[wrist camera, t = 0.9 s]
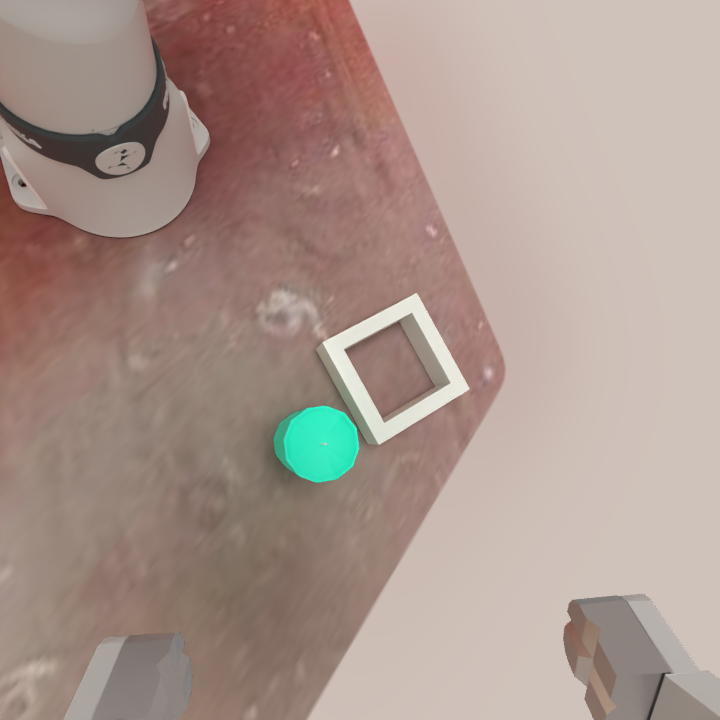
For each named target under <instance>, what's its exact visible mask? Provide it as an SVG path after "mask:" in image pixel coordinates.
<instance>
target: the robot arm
mask: <svg viewBox="0 0 720 720" xmlns="http://www.w3.org/2000/svg"><path fill="white" fill-rule="evenodd" d="M209 145H210V136H209V133H208V130H207V129H206V127H205V126H204V125H203V124H202V123H201V121H200V120H199V119H198V118H197V116H196V115H195V114H194V113H193V112H192V110H191V109H190V108H189V106H188V102H187V98H186V96H185V94H184V92H183V91H181V90H178V89H177V87H176V86H175V85H174V83H173V82H172V81H171V80H170V79H169V78H168V76H167V74H166V70H165V66H164V63H163V60H162V58H161V55H160V53H159V50H158V48H157V45H156V43H155V41H154V39H153V38H152V36H151V35H150V31H149V26H148V22H147V17H146V12H145V7H144V3H143V0H0V156H1V160H2V163H3V167H4V170H5V174H6V177H7V181H8V184H9V188H10V191H11V195H12V197H13V199H14V201H15V202H16V204H17V205H18V206H19V207H20V208H21V209H23V210H26V211H29V212H33V213H38V214H45V215H52V216H56V217H58V218H60V219H63V220H65V221H66V222H68V223H70V224H72V225H74V226H76V227H78V228H80V229H82V230H84V231H87V232H90V233H93V234H97V235H101V236H107V237H133V236H139V235H143V234H146V233H150V232H152V231H155V230H157V229H159V228H161V227H163V226H165V225H166V224H168V223H169V222H171V221H172V220H173V219H174V218H175V217H177V216H178V215H179V214H180V212H181V211H182V210H183V209H184V207H185V206H186V205H187V203H188V201H189V199H190V197H191V195H192V193H193V190H194V186H195V181H196V173H197V167H198V164H199V161H200V160H201V159H202V157H203V156H204V154H205V153H206V151H207V149H208V147H209ZM23 183H25V184H26V185H27V186H26V187H21V185H22V184H23ZM567 612H568V614H569V616H570V618H571V621H570V622H569V623H568V624H567V625H566V626H565V629H564V637H563V639H564V646H565V652H566V656H567V659H568V662H569V665H570V667H571V669H572V672H573V674H574V676H575V677H576V678H577V679H578V680H580V681H581V682H582V683H583V684H584V685H586V686H587V690H586V695H585V701H586V703H587V705H588V708H589V710H590V712H591V714H592V717H593V718H594V720H720V679H719V678H718V677H716V676H715V675H713V674H712V673H710V672H709V671H700V670H699V669H698V667H697V666H696V665H695V663H694V661H693V660H692V659H691V657H690V656H689V654H688V653H687V651H686V650H685V648H684V647H683V645H682V644H681V643H680V641H679V640H678V638H677V637H676V635H675V634H674V632H673V631H672V630H671V628H670V627H669V625H668V624H667V623H666V621H665V619H664V618H663V617H662V615H661V614H660V612H659V611H658V609H657V608H656V606H654V604H653V602H652V601H651V599H650V598H649V597H647V596H646V595H645V594H637V595H626V596H607V597H596V598H586V599H576V600H572V601H571V602H570V603H569V607H568V611H567ZM184 645H185V641H184V639H183V636H182V633H181V632H178V633H162V634H145V635H126V636H113V637H105V638H104V639H103V640H102V641H101V643H100V644H99V645H98V646H97V648H96V650H95V652H94V655H93V657H92V659H91V661H90V663H89V665H88V667H87V669H86V672H85V674H84V676H83V678H82V680H81V682H80V684H79V687H78V689H77V691H76V693H75V695H74V697H73V699H72V702H71V704H70V706H69V708H68V710H67V712H66V714H65V716H64V719H63V720H178V719H179V718H180V716H181V715H182V714H183V713H184V712H185V711H186V709H187V708H188V703H189V699H190V695H191V688H192V678H193V674H192V664H191V661H190V657H189V656H187V655H186V654H184V653H183V648H184Z"/></svg>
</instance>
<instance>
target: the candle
mask: <svg viewBox="0 0 720 720" xmlns="http://www.w3.org/2000/svg"><path fill="white" fill-rule="evenodd" d="M273 440H274V448H275V454H276V456H277V457H278V458H279V460H280V461H281V462H282V463H283V465H284V466H285V467H286V468H288V469H289V470H291V471H292V472H294V473H295V474H296V475H298V476H300V477H303V478H305V479H308V480H311V481H313V482H316V483H319V482H325V481H330V480H336V479H338V478H339V477H340V476H342V475H343V474H344V473H345V472H347V471H348V470H349V469H350V468H352V467H353V465H354V462H355V459H356V456H357V453H358V450H359V442H358V435H357V428H356V427H355V426H354V424H353V423H352V422H351V420H350V419H349V418H348V417H347V415H346V414H345V413H344V412H341V411H339V410H336V409H333V408H331V407H328V406H319V407H312V408H306V409H303V410H300V411H297V412H294V413H292V414H290V415H289V416H288V417H287V418H285V419H284V420H283V421H282V422H280V423H279V425H278V428H277V430H276V433H275V435H274V437H273Z"/></svg>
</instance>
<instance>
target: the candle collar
mask: <svg viewBox="0 0 720 720" xmlns="http://www.w3.org/2000/svg"><path fill="white" fill-rule="evenodd" d="M397 322H399V323H400V324H401V326H402V328H403V330H404V332H405V333H406V335H407V337H408V339H409V341H410V342H411V344H412V346H413V348H414V350H415V352H416V353H417V355H418V357H419V359H420V361H421V362H422V364H423V366H424V368H425V370H426V372H427V373H428V375H429V377H430V379H431V381H432V382H433V384H434V386H435V387H434V388H432V389H430V390H429V391H427V392H425V393H424V394H422V395H420V396H419V397H417V398H415V399H414V400H412V401H410V402H408V403H407V404H405V405H403V406H402V407H400V408H398V409H397V410H395V411H393V412H392V413H390V414H388V415H387V416H385V417H383V418H381V416H380V414H379V412H378V411H377V409H376V407H375V405H374V403H373V402H372V400H371V398H370V396H369V394H368V392H367V391H366V389H365V387H364V385H363V383H362V382H361V380H360V378H359V376H358V374H357V372H356V371H355V369H354V367H353V365H352V363H351V362H350V360H349V358H348V356H347V354H346V352H345V350H346V349H348V348H350V347H352V346H354V345H356V344H358V343H360V342H361V341H363V340H365V339H367V338H369V337H371V336H373V335H375V334H376V333H378V332H380V331H382V330H384V329H386V328H388V327H389V326H391V325H393V324H395V323H397ZM316 351H317V353H318V355H319V356H320V358H321V360H322V362H323V364H324V366H325V367H326V369H327V371H328V373H329V375H330V377H331V378H332V380H333V382H334V384H335V386H336V387H337V389H338V391H339V393H340V395H341V397H342V398H343V400H344V402H345V404H346V406H347V407H348V409H349V411H350V413H351V415H352V417H353V418H354V420H355V422H356V424H357V426H358V428H359V429H360V431H361V433H362V435H363V437H364V438H365V440H366V442H367V444H372V445H380V444H381V443H383V442H385V441H386V440H388V439H390V438H391V437H393V436H394V435H396V434H398V433H399V432H401V431H403V430H404V429H406V428H407V427H409V426H411V425H412V424H414V423H416V422H417V421H419V420H420V419H422V418H424V417H425V416H427V415H429V414H430V413H432V412H433V411H435V410H437V409H438V408H440V407H442V406H443V405H445V404H446V403H448V402H450V401H451V400H453V399H455V398H456V397H458V396H459V395H461V394H463V393H464V392H466V391H468V390H469V387H468V385H467V383H466V381H465V380H464V378H463V376H462V374H461V372H460V370H459V369H458V367H457V365H456V363H455V361H454V360H453V358H452V356H451V354H450V352H449V350H448V349H447V347H446V345H445V343H444V341H443V340H442V338H441V336H440V334H439V332H438V331H437V329H436V327H435V325H434V323H433V321H432V320H431V318H430V316H429V314H428V312H427V311H426V309H425V307H424V305H423V303H422V302H421V300H420V298H419V296H418V294H417V293H416V294H414V295H412V296H410V297H408V298H407V299H405V300H403V301H401V302H399V303H397V304H395V305H393V306H391V307H389V308H387V309H385V310H383V311H382V312H380V313H378V314H376V315H374V316H372V317H370V318H368V319H366V320H364V321H362V322H360V323H359V324H357V325H355V326H353V327H351V328H349V329H347V330H345V331H343V332H341V333H339V334H337V335H336V336H334V337H332V338H330V339H328V340H326V341H324V342H322V343H321V344H320V345H319V346H318V347H317V348H316Z"/></svg>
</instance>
